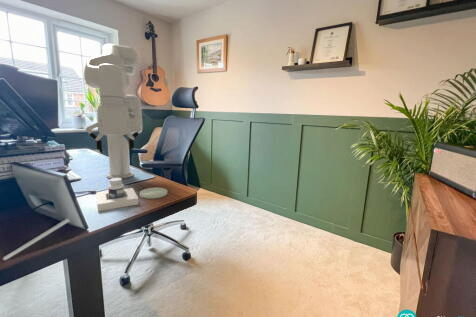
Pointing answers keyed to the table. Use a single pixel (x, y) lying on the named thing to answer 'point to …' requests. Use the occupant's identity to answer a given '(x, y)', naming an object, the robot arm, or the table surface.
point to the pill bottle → (116, 188)
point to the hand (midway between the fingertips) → (116, 150)
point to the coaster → (153, 193)
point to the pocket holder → (116, 200)
